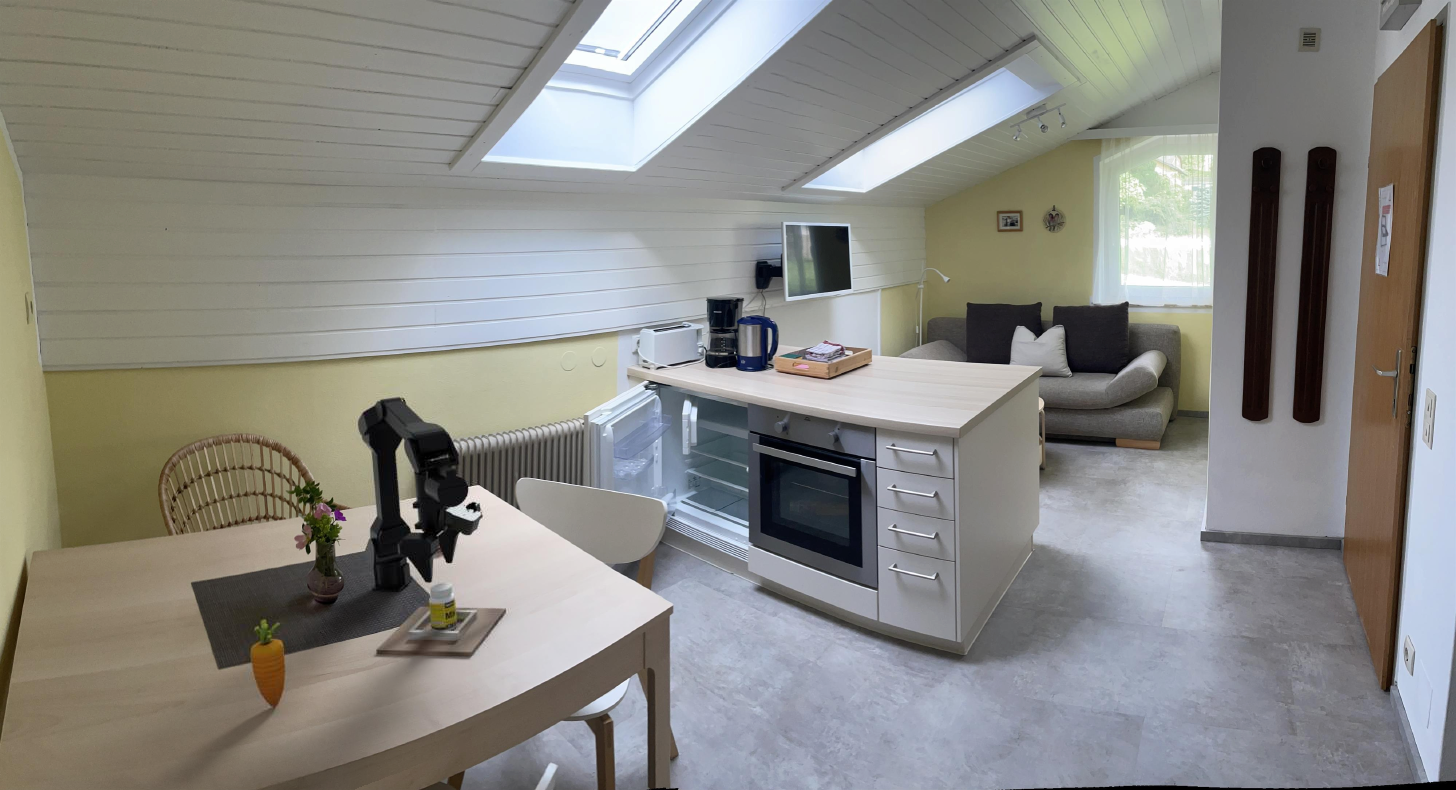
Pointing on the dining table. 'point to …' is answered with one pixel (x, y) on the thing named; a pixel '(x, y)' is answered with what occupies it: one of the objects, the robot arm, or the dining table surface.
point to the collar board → (442, 633)
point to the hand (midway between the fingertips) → (439, 572)
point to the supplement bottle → (442, 607)
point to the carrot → (268, 664)
